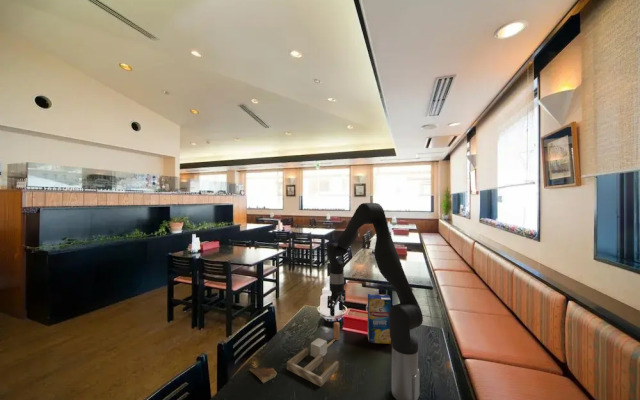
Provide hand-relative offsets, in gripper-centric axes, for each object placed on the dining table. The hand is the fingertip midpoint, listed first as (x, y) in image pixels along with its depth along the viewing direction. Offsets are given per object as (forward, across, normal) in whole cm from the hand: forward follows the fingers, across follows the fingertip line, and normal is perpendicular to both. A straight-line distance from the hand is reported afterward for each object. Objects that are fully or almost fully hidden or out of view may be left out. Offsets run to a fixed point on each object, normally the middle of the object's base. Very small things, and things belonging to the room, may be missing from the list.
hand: (336, 313), depth 130 cm
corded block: (+13, -9, 0) cm, 16 cm away
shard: (+14, -41, +10) cm, 45 cm away
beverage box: (+14, +13, -18) cm, 26 cm away
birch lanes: (+14, -26, -4) cm, 30 cm away
